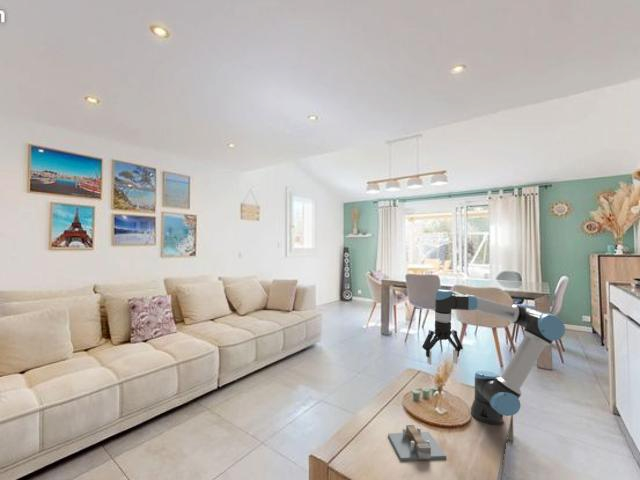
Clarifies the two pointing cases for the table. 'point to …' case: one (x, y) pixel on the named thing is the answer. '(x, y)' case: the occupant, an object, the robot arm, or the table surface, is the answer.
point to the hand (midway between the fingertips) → (442, 363)
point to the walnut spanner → (418, 442)
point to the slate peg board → (406, 447)
